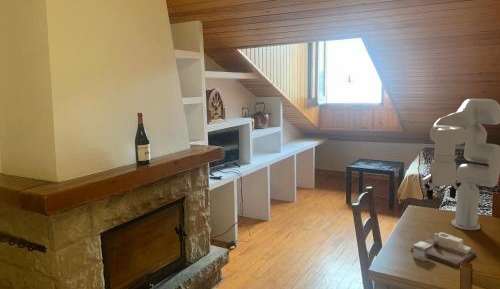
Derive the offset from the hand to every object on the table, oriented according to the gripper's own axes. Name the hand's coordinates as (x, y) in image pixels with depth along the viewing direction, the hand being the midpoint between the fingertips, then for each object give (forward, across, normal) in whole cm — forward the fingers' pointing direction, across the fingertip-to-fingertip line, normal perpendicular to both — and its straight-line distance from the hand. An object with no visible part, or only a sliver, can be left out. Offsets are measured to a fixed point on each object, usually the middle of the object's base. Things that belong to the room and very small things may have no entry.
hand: (440, 198), depth 160 cm
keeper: (+24, +9, +4) cm, 26 cm away
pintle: (+22, 0, -2) cm, 22 cm away
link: (+22, -7, 0) cm, 23 cm away
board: (+24, -2, +2) cm, 24 cm away
